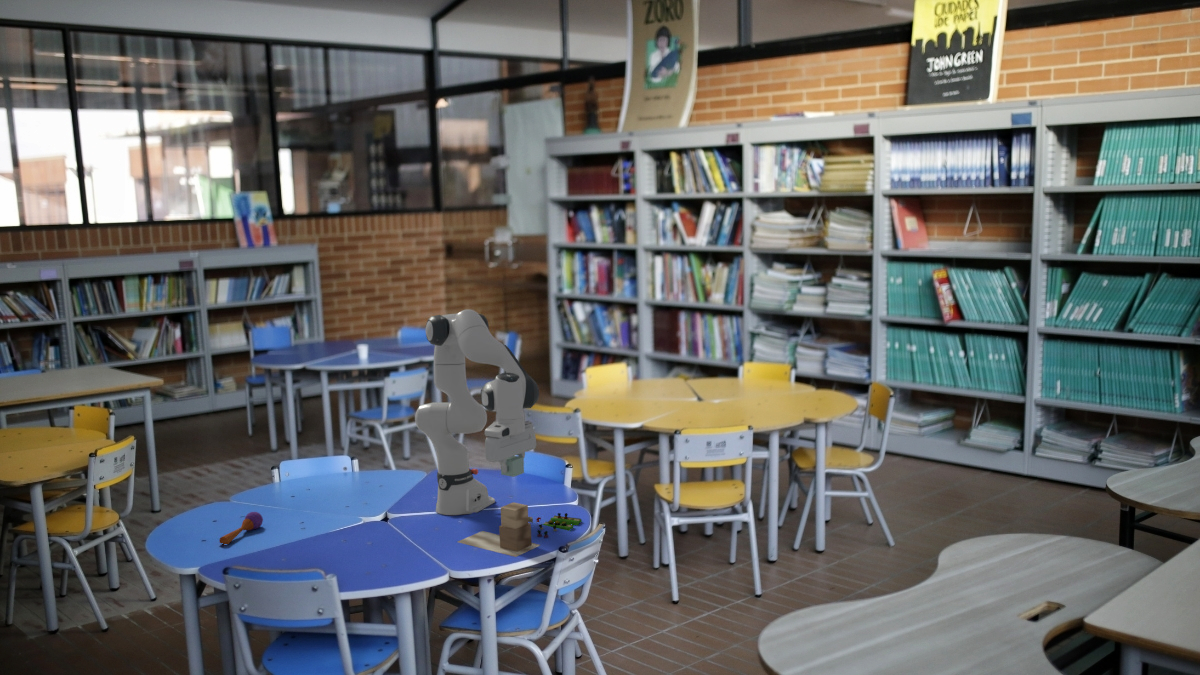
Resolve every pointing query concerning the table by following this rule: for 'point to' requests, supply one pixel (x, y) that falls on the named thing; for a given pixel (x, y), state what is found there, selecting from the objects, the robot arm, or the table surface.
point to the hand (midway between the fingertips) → (512, 469)
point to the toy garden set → (557, 523)
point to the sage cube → (514, 466)
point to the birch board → (492, 543)
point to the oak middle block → (514, 515)
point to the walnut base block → (515, 537)
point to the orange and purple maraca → (244, 526)
